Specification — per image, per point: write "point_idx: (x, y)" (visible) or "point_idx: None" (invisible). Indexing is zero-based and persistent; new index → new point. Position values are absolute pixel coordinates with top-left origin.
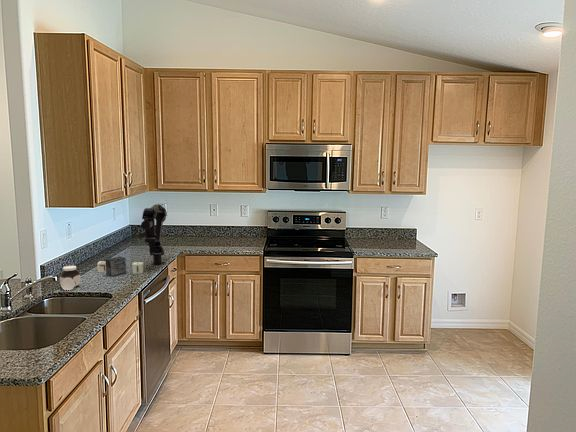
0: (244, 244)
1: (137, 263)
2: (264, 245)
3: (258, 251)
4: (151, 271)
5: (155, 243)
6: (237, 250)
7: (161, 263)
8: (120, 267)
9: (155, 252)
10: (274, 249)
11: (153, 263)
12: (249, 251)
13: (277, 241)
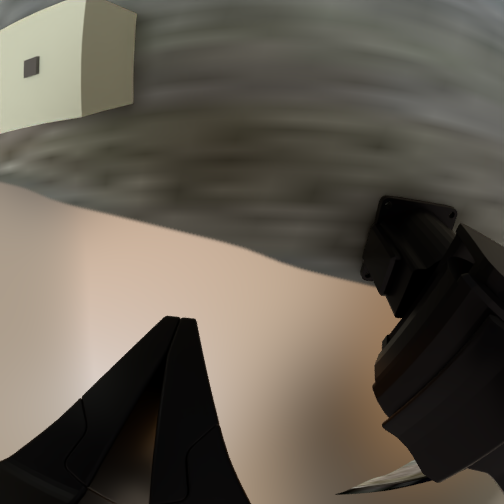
0: None
1: (26, 66)
2: (413, 478)
3: (362, 484)
4: (101, 182)
5: (472, 429)
6: (411, 463)
7: (362, 275)
8: None
9: (410, 314)
10: (360, 492)
11: (398, 209)
12: (377, 477)
13: (427, 480)
